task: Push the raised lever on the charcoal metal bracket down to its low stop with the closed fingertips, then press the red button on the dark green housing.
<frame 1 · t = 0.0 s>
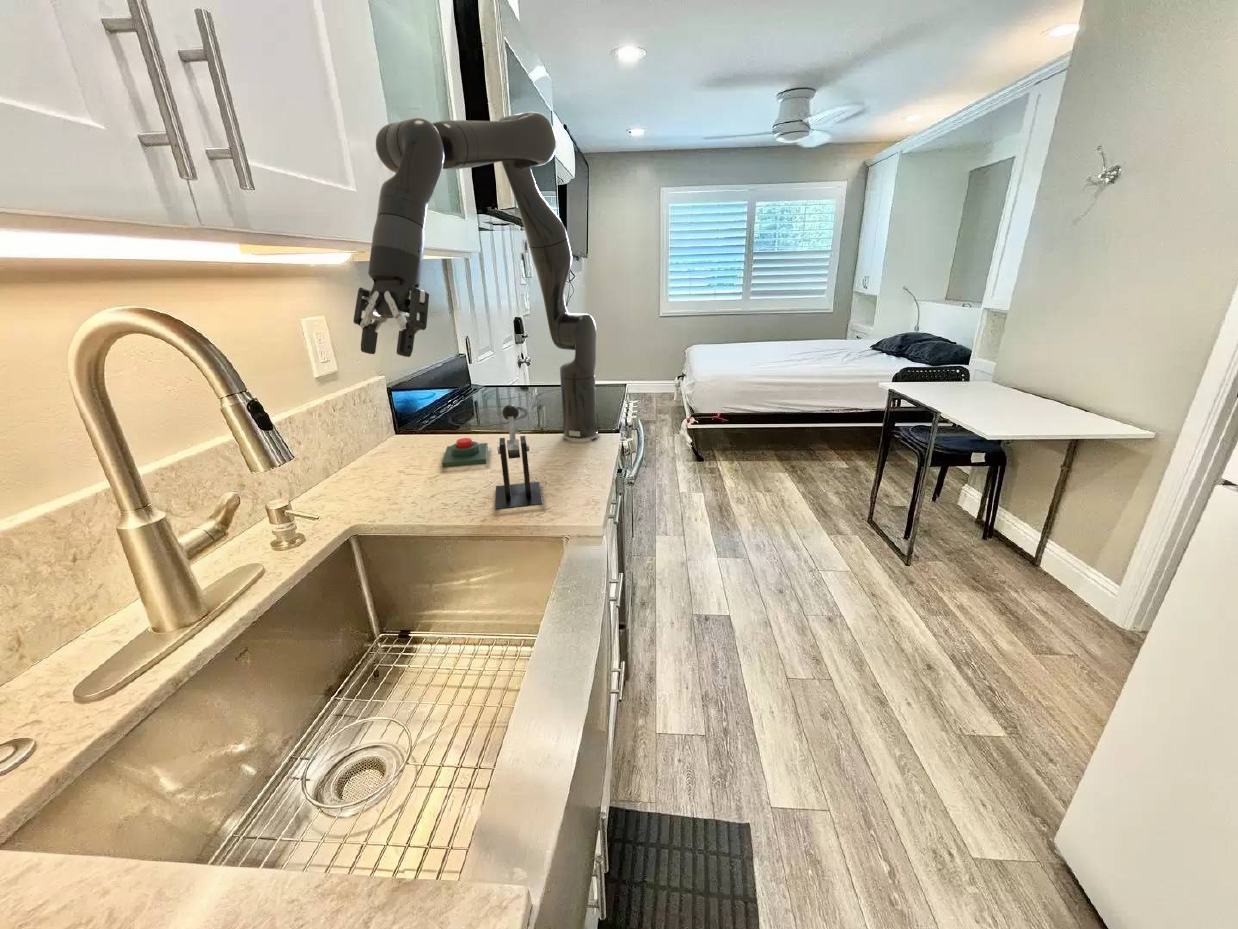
hand: (385, 354, 79), 31 cm above the worktop, tool tilted 20°, fingers open, 8 cm apart
button box: (466, 460, 121), on the worktop
lever: (511, 429, 100), point 13 cm above the worktop, hinge at 25.0°
button: (464, 443, 120), point 4 cm above the worktop, slide at 0.1 cm
bracket: (519, 499, 100), on the worktop
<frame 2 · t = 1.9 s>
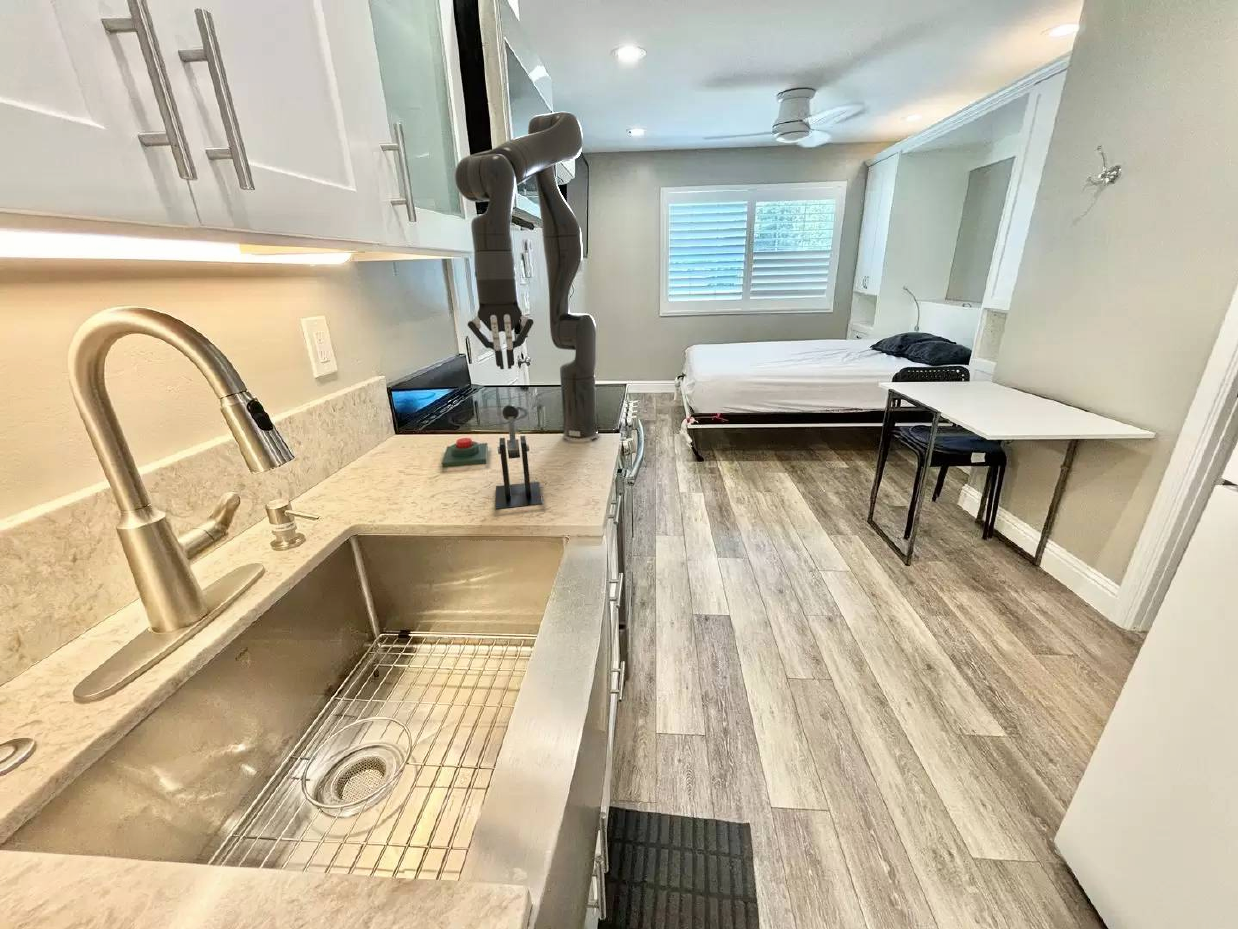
hand: (505, 368, 100), 25 cm above the worktop, tool pointing down, fingers closed
nothing on the worktop moved.
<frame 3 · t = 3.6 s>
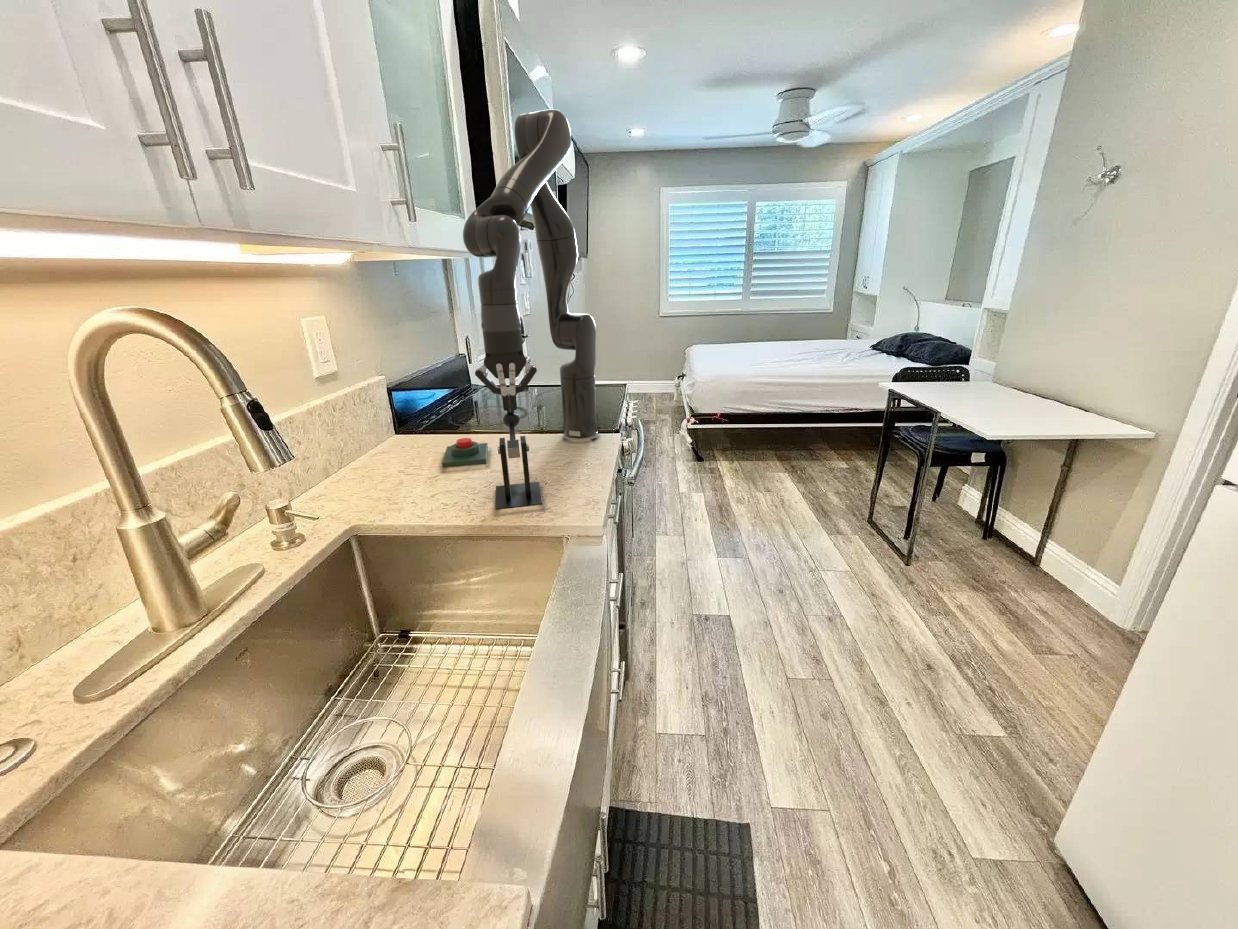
hand: (510, 412, 104), 16 cm above the worktop, tool pointing down, fingers closed
lever: (512, 433, 100), point 12 cm above the worktop, hinge at 15.3°, touching gripper
everything else where it was.
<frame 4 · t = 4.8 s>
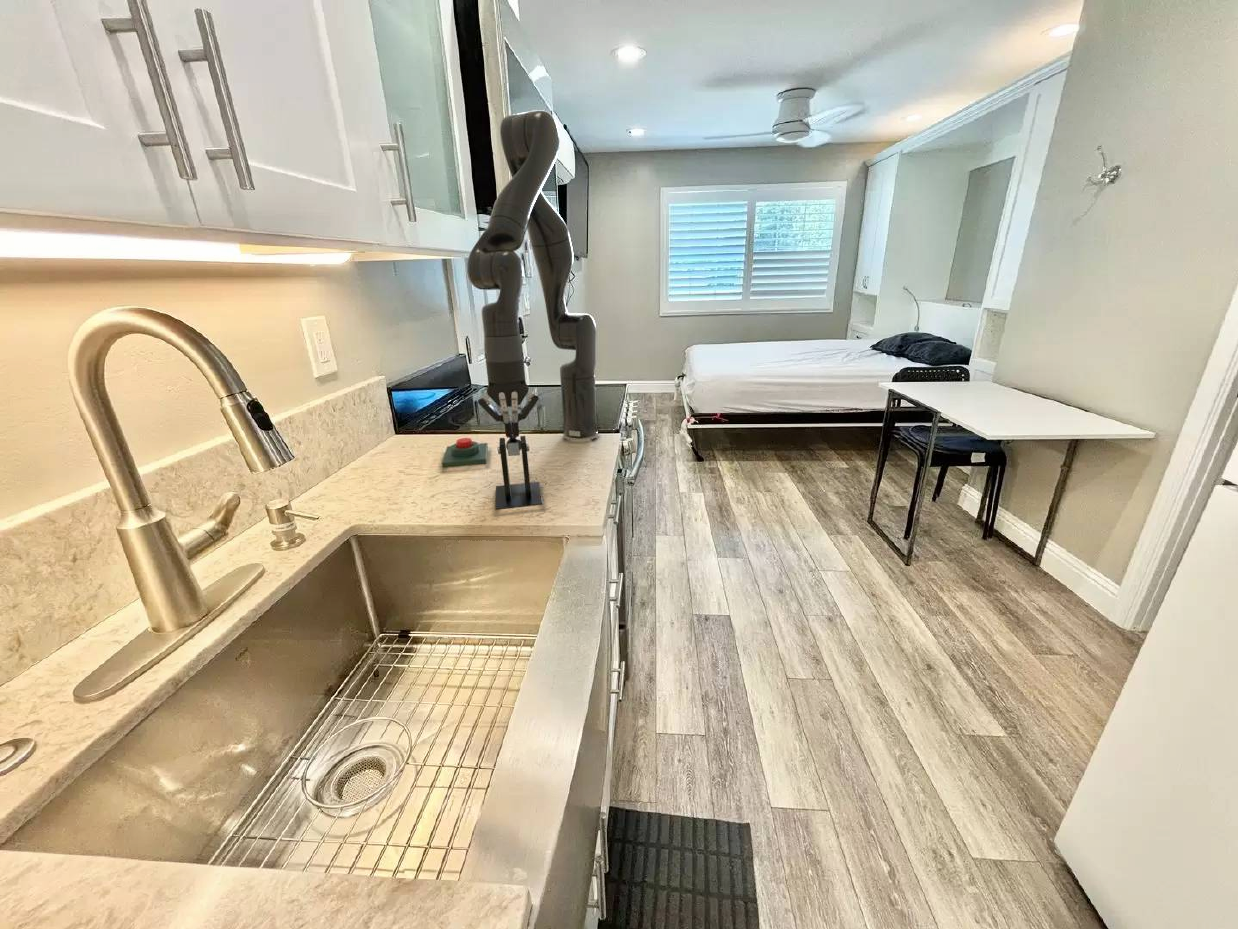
hand: (512, 438, 105), 10 cm above the worktop, tool pointing down, fingers closed
lever: (513, 447, 101), point 10 cm above the worktop, hinge at -15.3°, touching gripper
everything else where it was.
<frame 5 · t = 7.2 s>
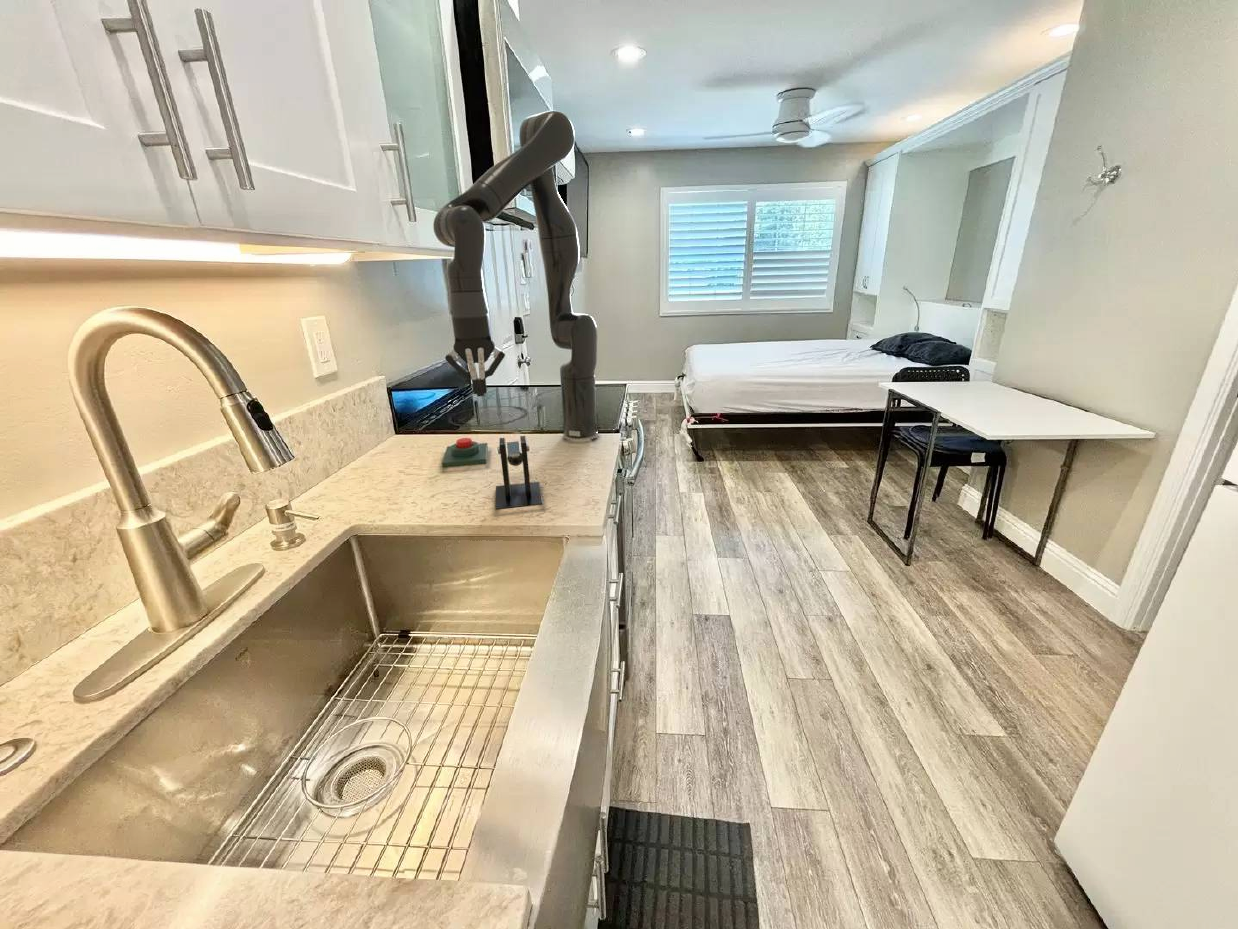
hand: (480, 395, 109), 18 cm above the worktop, tool pointing down, fingers closed
lever: (514, 453, 101), point 8 cm above the worktop, hinge at -29.9°
everything else where it was.
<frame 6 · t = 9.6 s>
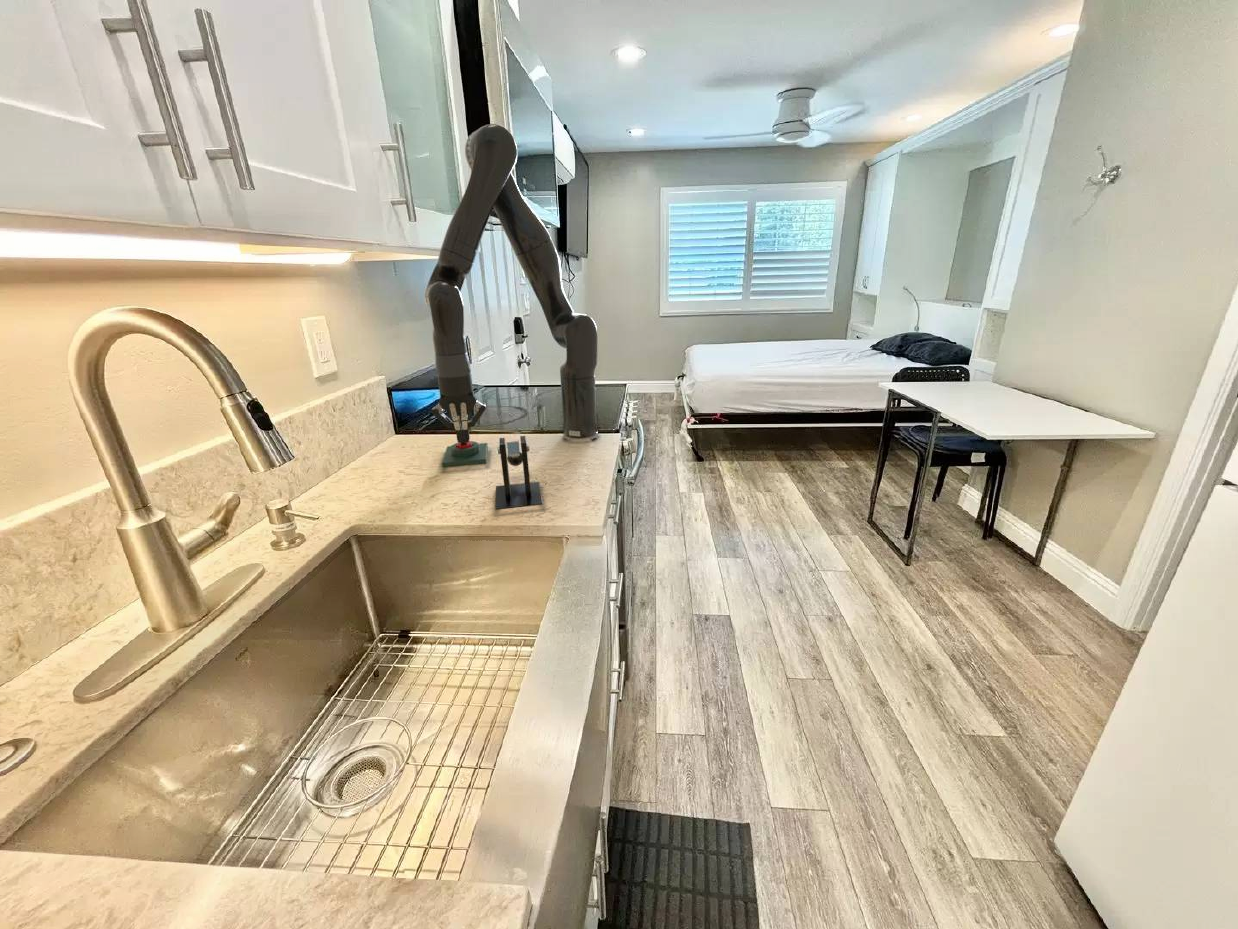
hand: (464, 443, 119), 5 cm above the worktop, tool pointing down, fingers closed
button: (464, 446, 120), point 4 cm above the worktop, slide at -0.7 cm, touching gripper
everything else where it was.
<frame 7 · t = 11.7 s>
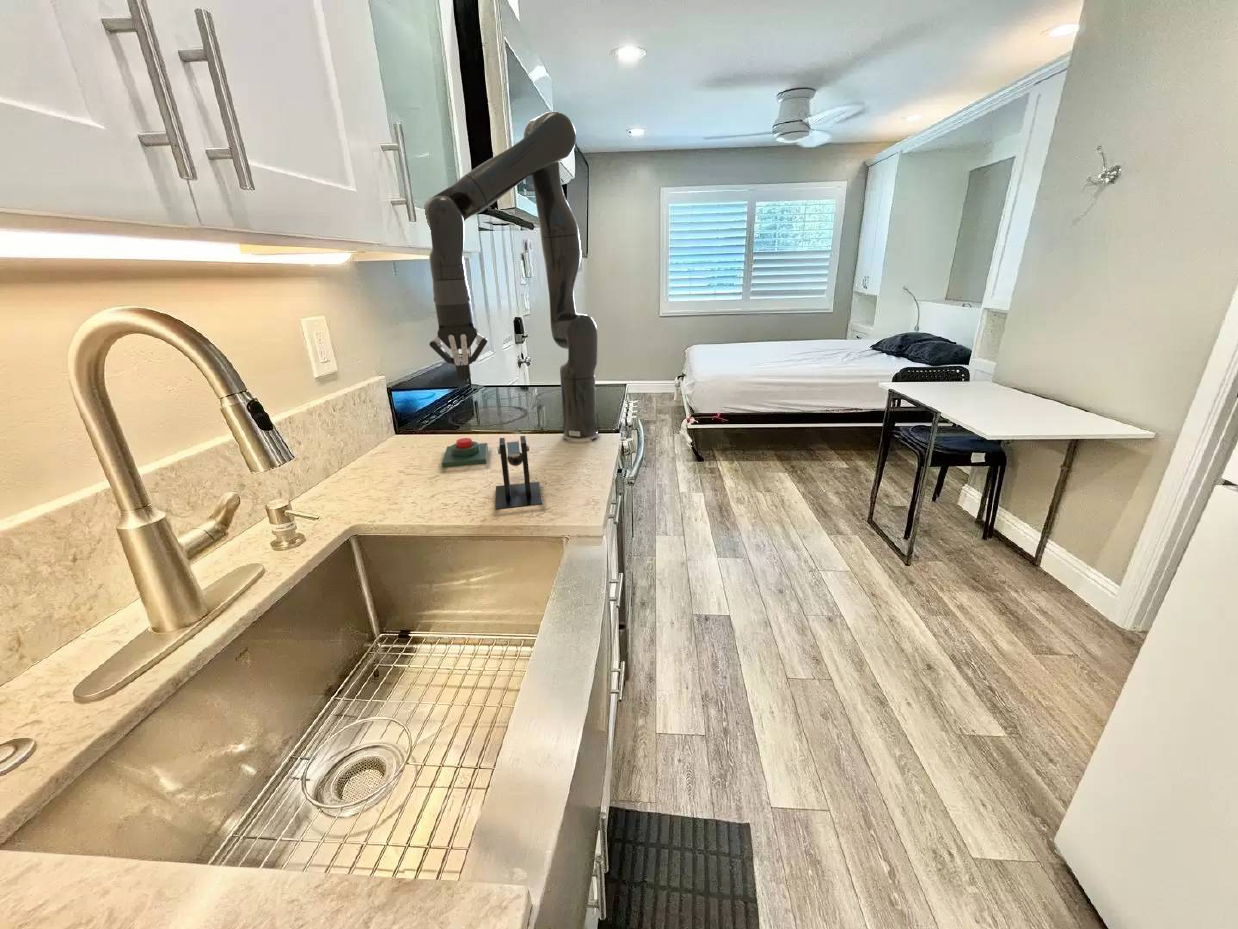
hand: (464, 380, 113), 20 cm above the worktop, tool pointing down, fingers closed
button: (464, 443, 120), point 4 cm above the worktop, slide at 0.1 cm
everything else where it was.
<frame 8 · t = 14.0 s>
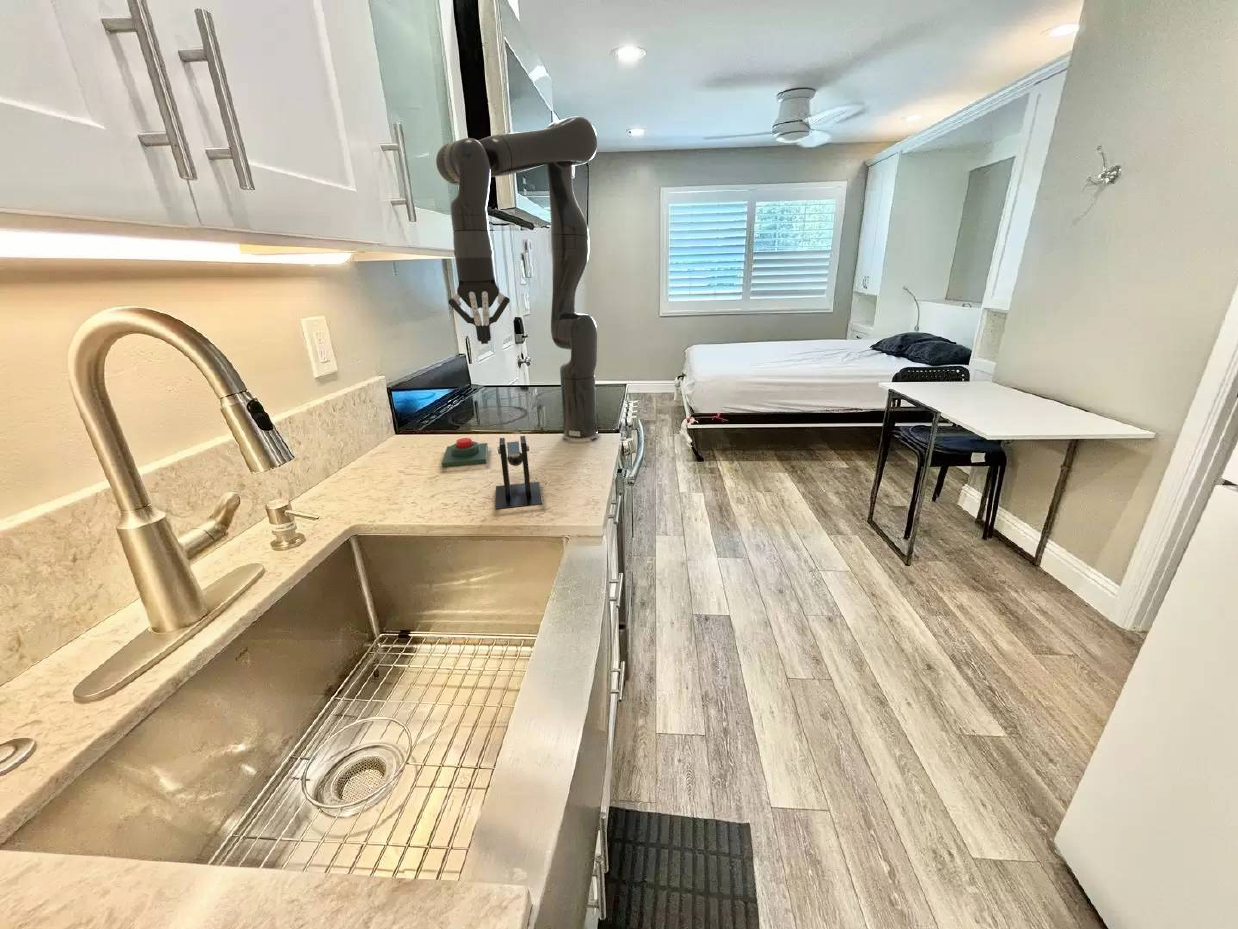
hand: (484, 343, 106), 29 cm above the worktop, tool pointing down, fingers closed
nothing on the worktop moved.
at the end: lever at -30° (first picture: +25°); button pushed in 1.1 cm at the most during the clip, back to where it started at the end; button slide at 0.1 cm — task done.
